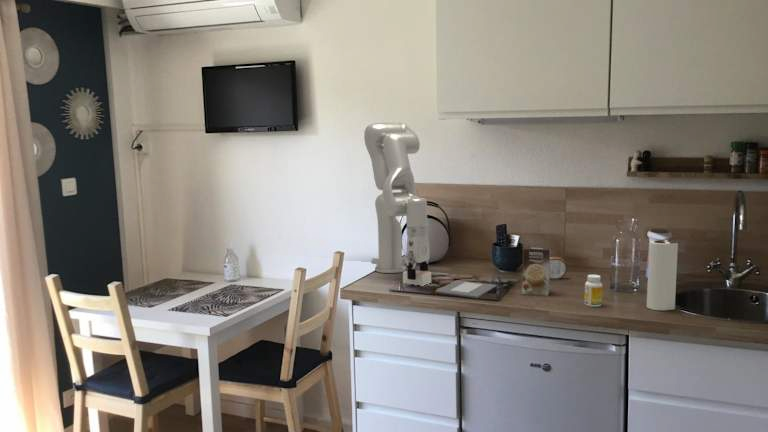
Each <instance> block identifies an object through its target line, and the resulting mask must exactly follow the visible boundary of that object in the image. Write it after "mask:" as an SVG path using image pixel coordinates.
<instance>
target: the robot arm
mask: <svg viewBox="0 0 768 432" xmlns="http://www.w3.org/2000/svg"><path fill="white" fill-rule="evenodd" d="M363 137H364V138H363V139H364V144H365V145H364V146H365V148H366V150H367V153H368V154H369V157H370V161H371V165H372V172H373V177H374V182H375V186H376V188H377V190H379V191H382V193H381V194H379V195H377V196H376V199H375V201H374V205H375V212H376V219H377V233H378V234H377V236H378V237H377V239H378V241H377V242H378V243H377V244H378V245H377V246H378V258H374V257H373V258H372V259H371V260H370V261H371V263H370V264H373V265H376V266H375V267H374V271H376V272H377V273H382V274H397V273H403V272H404V271H407V278H408V279H411V280H415V279H416V270H417V269H416V268H415V267H416V265H417V264H419V270H420V271H429V259H430V256H431V255H430V253H431V252H430V242H429V235H428V202H427V199H426V198H424V197H420V196H418V194H417V188H416V182H415V178H414V173H413V171H412V170H411V169H412V167H411V163H410V160H409V155H412V154H413V155H414V154H417V153H418V151H419V150H420V145H421V144H420V139H419V137H418V135H417V134H416V132H415V131H414V130H413V129H412V128H410V126H408V125H407V124H406V123H404V122H375V123H371V124H368V125H367V126H366V127H365V129H364V136H363ZM398 190H399V192H398ZM393 191H395V192H393ZM396 191H397V192H396ZM397 217H406V236H407V240H406V256H405V258H404V263H405V265H403V246H402V245H403V243H402V242H403V237H402V233H403V232H402V229H403V228H402V225H401V223H400V222H399V220H398V219H397Z"/></svg>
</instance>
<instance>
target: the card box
mask: <svg viewBox="0 0 768 432" xmlns="http://www.w3.org/2000/svg"><path fill="white" fill-rule="evenodd" d="M402 283H403V284H405V283H407V284H406V285H411V284H414V285H413V286H417V285H420V286H419V287H425V286H424V285H426V284H428V285H430V284H429V283H431V284H432V272H431V271H429V270H428V271H420V269H419V270H417V269H416V279H415V280H411V279H408V278H407V270H405V271H403V272H402ZM426 286H427V285H426Z"/></svg>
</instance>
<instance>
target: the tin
mask: <svg viewBox="0 0 768 432" xmlns="http://www.w3.org/2000/svg"><path fill="white" fill-rule="evenodd" d="M567 273H568V265H567V262H566V261H565V260H564V259H563V258H562V257H559V256H550V273H549V280H560V279H563V278H564V277H565V276H566V274H567Z"/></svg>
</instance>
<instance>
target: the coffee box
mask: <svg viewBox="0 0 768 432" xmlns="http://www.w3.org/2000/svg"><path fill="white" fill-rule="evenodd" d="M522 253H523V255H522V286H521V294H522V295H530V296H531V295H534V296H545V297H546V296H549V293H550V279H549V273H550V257H551V247H550V246H542V245H541V246H537V245H524V246H523V250H522Z"/></svg>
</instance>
